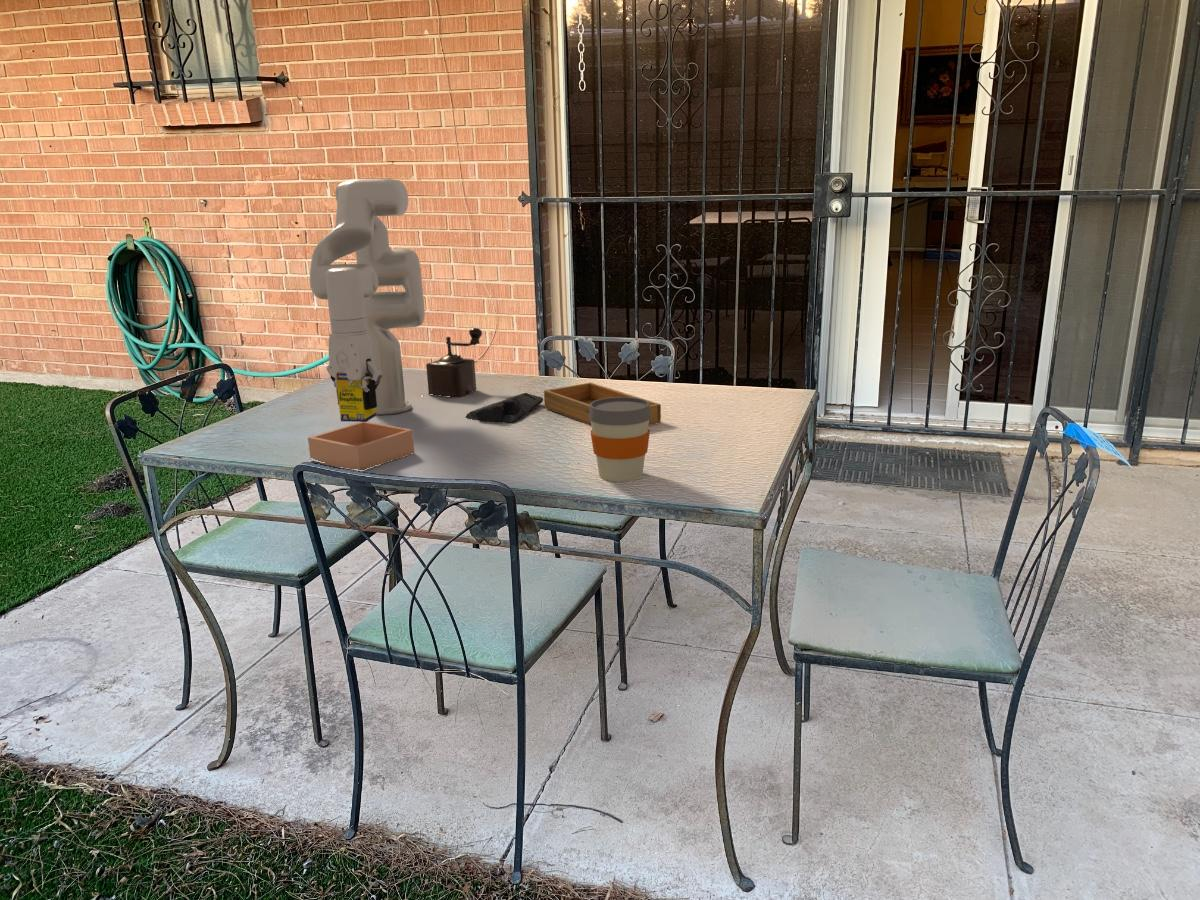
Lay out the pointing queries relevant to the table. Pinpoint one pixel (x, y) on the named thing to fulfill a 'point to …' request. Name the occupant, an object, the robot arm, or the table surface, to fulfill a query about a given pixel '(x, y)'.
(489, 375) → the table surface
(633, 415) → the reusable coffee cup
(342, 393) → the supplement box
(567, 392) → the tray
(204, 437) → the table surface
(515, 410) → the dark slate chunk
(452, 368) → the manual coffee grinder
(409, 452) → the planter box
